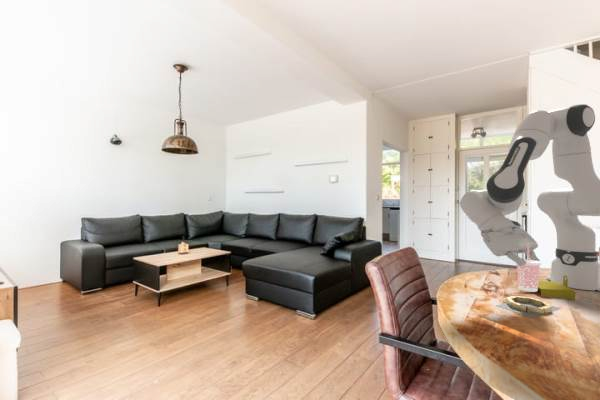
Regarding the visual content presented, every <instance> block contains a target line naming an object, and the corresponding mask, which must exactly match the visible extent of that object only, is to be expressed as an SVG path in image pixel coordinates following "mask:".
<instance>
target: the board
mask: <svg viewBox="0 0 600 400" xmlns="http://www.w3.org/2000/svg"><path fill="white" fill-rule="evenodd" d="M516 303H519V304H523V305H526V306H533V307H541V306H537V305H534V304H530V303H523V302H516ZM551 306H552V312H555V311H557V310H561V309H562V308H561V307H557V306H554V305H551ZM496 307H499V308H501V309H504V310H507V311H511V312H513V313H517V314H520V315H522V316H525V317H528V318H532V319H534V318H537V317H540V316H543V315H544V314H536V313H528V312H524V311H521V310H518V309H514V308H512V307H510V306H509V305H508V304H507V303H506V302H505V303H501V304H498V305H496Z"/></svg>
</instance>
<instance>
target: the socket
mask: <svg viewBox="0 0 600 400" xmlns="http://www.w3.org/2000/svg"><path fill="white" fill-rule="evenodd" d="M505 301H506V302H505V303H507V304H508V305H509V306H510V307H512V308H514V309H518V310H521V311H524V312H528V313H536V314H543V315H546V314H547V315H548V314H550V313H553V311H552V306H553V305H552V304H550V303H548V302H547V301H545V300H541V299H538V298H534V297H529V296H523V295H522V296H520V295H519V296H518V295H512V296H508V297H506V299H505ZM516 302H523V303H530V304H534V305H537V306H541V307H533V306H526V305H523V304H519V303H516Z"/></svg>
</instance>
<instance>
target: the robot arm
mask: <svg viewBox="0 0 600 400" xmlns="http://www.w3.org/2000/svg"><path fill="white" fill-rule="evenodd" d="M595 123H596V114H595V111H594V109H593V108H592V107H591V106H589V105H588V104H585V103H584V104H582V103H581V104H575V105H574V104H573V105H571V106H565V107H560V108H556V109H552V110H549V111H548V110H543V109H542V110H539V109H538V110H533V111H531V112H529V113H527V114H526V115H525V116H524V117H523V119H522V120H521V122H520V123H519V124H518V126H517V127H516V129H515V131H514V133H513V136H512V137H511V140H510V143H509V148H508V153H507V155H506V158H505V159H504V161H503V163H502V165H501V167H500V168H499V169H498V170H497V171H495V172H494V173H493V174H492V175H491V176H490V177H489V178H488V179H487V182H486V189H481V190H476V189H471V190H469V191H467V192H466V193H465V194H463V196H462V197H461V199H460V202H459V204H460V208H461V211H463V213H464V214H465V215H466V217H467V218H468V219H469V221H471V222H472V223H474V224H475V225H476V226H477V228H478V230H479V231H480V235H481V237H482V240H483V243H484V244H485V245H486V247H487V248H488V249H489V251H490V252H491V254H493V255H494V256H495V257H504V256H506V257H507V258H508V259H510V260H511V261H512V262H515V263H516V265H517V264H518V265H519V266H524V265H525V264H526V261H524V259H525V258H521V257H520V256H519V255H518V254H524V255H526V256H527V245H529V259H530V260H536V261H539V262H541V260H540V259H539V257H537V255H536V252H535V251H534V250H536V249H537V248H538V247H539V244H538V242H537V241H536V240H535V238H533V237H532V235H530V233H528V232H527V231H526V229H524V228H522V227H523V225H522V224H521V223H520V222H518V221H514V220H512V219H510V218H508V217H506V216H507V215H510V214H512V213H515V212H517V210H519V209H520V206H521V204H522V200H523V194H524V190H525V186H526V184H525V177H524V173H525V170H526V168H527V167H528V165H529V163H530V161H533V160H537V159H539V158H541V156H543V154H544V153H545V151H546V149H547V148H548V146H549V144H550V141H551V140H552V148H551V149H552V162H553V171H554V175H555V176H556V177H557V178H559V179H561V180H565V181H566V182H568V184H570V185H571V188H569V187H567V188H565V187H564V188H552V189H547V190H544V191H541V193H539V195H538V197H537V200H536V204H537V207H538V208H539V210H540V211H542V212H543V213H544V214H546V215H547V216H548V217H549V219H550V220H551V221H552V223H553V225H554V227H555V230H556V242H557V243H556V248H555V251H554V253H555V257H556V258H555V259H553V260H552V261H551V265H550V266H551V267H550V275H548V276H546V280H547V281H554V282H556V283H559V284H561V285H563V276H567V278H568V288H571V289H575V290H576V289H577V290H582V291H583V290H584V291H595V290H598V291H597V292H600V263H599V257H600V251H598V250H596V242H597V241H596V236H597V235H596V232H595V231H594V230H593V228H591V227H590V226H588V225H586V224H583V223H582V222H581V221H580V220H579V217H578V216H582V217H600V178H599V176H598V175H597V173H596V172H595V169H594V164H593V158H592V157H593V156H592V149H591V142H590V138H589V135H588V132H589V131H590V130H591V129H592V128H593V126H594V124H595ZM565 280H566V277H565Z"/></svg>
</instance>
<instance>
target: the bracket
mask: <svg viewBox="0 0 600 400" xmlns="http://www.w3.org/2000/svg"><path fill="white" fill-rule="evenodd" d="M565 277H566V280H565ZM538 291H540V297H547V298H548V297H550V298H563V299H567V300H570V301H576V289H574V288H570V287H568V278H567V276H563V285H561V284H559V283H556V282H554V281H550V280H538Z"/></svg>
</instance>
